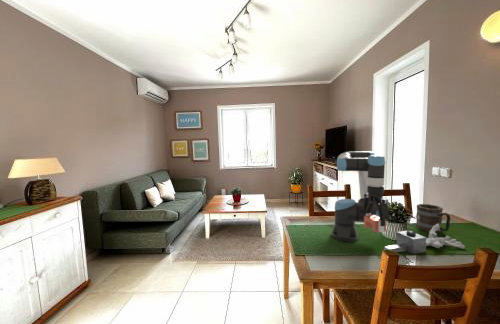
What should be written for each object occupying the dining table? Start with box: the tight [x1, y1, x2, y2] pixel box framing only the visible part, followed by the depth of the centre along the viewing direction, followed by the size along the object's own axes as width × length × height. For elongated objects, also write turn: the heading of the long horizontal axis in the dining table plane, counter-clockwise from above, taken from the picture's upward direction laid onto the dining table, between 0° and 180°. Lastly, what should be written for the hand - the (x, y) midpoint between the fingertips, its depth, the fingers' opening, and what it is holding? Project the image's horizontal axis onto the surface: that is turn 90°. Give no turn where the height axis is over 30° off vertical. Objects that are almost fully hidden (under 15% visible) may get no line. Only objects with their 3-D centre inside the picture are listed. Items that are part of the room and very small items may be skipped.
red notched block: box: [363, 215, 387, 233], centre depth 113 cm, size 6×8×6 cm
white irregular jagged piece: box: [426, 224, 466, 250], centre depth 124 cm, size 19×8×20 cm
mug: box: [415, 203, 451, 233], centre depth 143 cm, size 20×14×15 cm
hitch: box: [383, 230, 427, 255], centre depth 118 cm, size 20×10×10 cm, turn 102°
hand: (374, 228), depth 114 cm, fingers closed on red notched block, 8 cm apart
